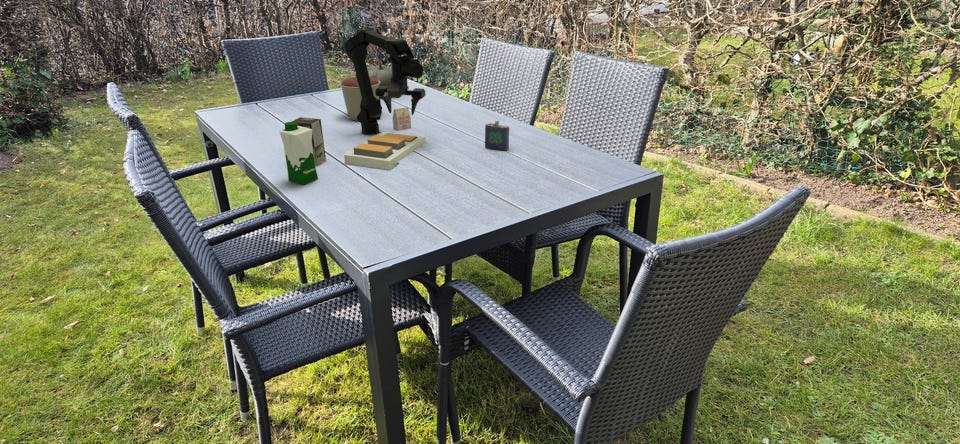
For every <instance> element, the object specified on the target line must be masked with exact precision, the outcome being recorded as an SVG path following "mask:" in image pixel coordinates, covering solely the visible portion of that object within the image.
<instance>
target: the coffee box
mask: <svg viewBox="0 0 960 444" xmlns="http://www.w3.org/2000/svg"><path fill="white" fill-rule="evenodd" d="M291 122H297V126H301V127H306V128H309V129H313V131H312V147H313V155H314V162H315V167H317V166H320V165H322V164H323V163H325V162H327V157H326V149H325V140H324V134H323V127H322V119H321V118H313V117H302V116H301V117H298V118H295V119H294V120H292V121H291Z"/></svg>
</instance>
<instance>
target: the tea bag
mask: <svg viewBox="0 0 960 444" xmlns="http://www.w3.org/2000/svg"><path fill="white" fill-rule="evenodd" d="M411 120H412V118H411V112H410V110H409V107H408V106H407V107H406V106H405V107H399V108H393V114H392V127H393V130H395V131H398V132H399V131H404V130H408V129H409V130H410V129H412V121H411Z"/></svg>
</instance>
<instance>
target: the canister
mask: <svg viewBox="0 0 960 444" xmlns="http://www.w3.org/2000/svg"><path fill="white" fill-rule="evenodd" d="M354 74H355V76H351V77H347V78H345V79H343V80H342V81H340V82H339V86H340V87H341V92H342V94H343V99H344V104H345V109H346V112H347V115H348V117H349V118H350V120H353V121H357V116H358V114H359V113H360V111H361V110H360V103H361V100H362V96H361V92H360V88H359V84H358V80H357V76H356V73H354ZM370 82H371V86H372V90H373V94H374V96H375V98H376V99H380V98H379V96H376V95H375V90H376V89H377V88H378V87H379V84H380V81H379V80H377V79H376V78H373V77H370ZM357 122H358V121H357Z"/></svg>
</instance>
